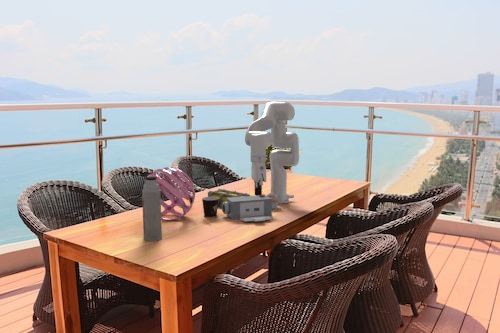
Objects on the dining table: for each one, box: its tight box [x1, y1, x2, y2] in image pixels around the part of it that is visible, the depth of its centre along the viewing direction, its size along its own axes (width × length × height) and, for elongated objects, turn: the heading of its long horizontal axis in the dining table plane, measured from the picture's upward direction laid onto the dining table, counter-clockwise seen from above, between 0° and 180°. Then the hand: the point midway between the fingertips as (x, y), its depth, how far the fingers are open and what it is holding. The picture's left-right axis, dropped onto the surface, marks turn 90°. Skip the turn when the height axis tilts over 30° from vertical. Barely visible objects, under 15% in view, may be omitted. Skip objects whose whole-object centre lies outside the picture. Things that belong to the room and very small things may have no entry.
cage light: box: [207, 188, 251, 209], centre depth 273 cm, size 15×8×30 cm
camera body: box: [221, 193, 273, 220], centre depth 246 cm, size 25×10×11 cm, turn 108°
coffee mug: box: [201, 196, 221, 219], centre depth 247 cm, size 12×9×10 cm
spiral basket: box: [144, 166, 196, 222], centre depth 243 cm, size 28×28×27 cm
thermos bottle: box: [141, 176, 163, 242], centre depth 208 cm, size 8×8×28 cm
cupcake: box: [265, 191, 279, 210], centre depth 264 cm, size 9×9×10 cm
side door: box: [238, 216, 272, 223], centre depth 237 cm, size 14×1×13 cm
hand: (258, 194), depth 233 cm, fingers closed
